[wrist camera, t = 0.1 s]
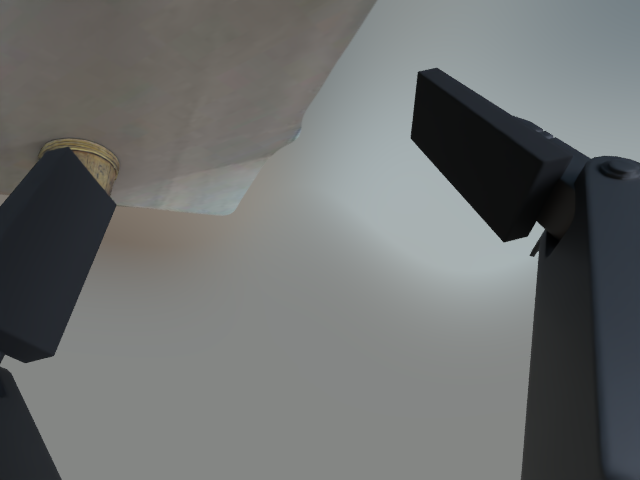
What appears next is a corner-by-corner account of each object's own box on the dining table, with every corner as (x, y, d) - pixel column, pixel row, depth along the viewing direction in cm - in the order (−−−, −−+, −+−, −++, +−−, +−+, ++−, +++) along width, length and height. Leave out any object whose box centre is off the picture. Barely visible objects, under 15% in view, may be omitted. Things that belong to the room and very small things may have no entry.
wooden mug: (-17, 121, 36) (-60, 257, 28) (119, 145, 43) (114, 257, 36) (3, 169, 42) (-28, 290, 35) (119, 183, 50) (113, 284, 42)
